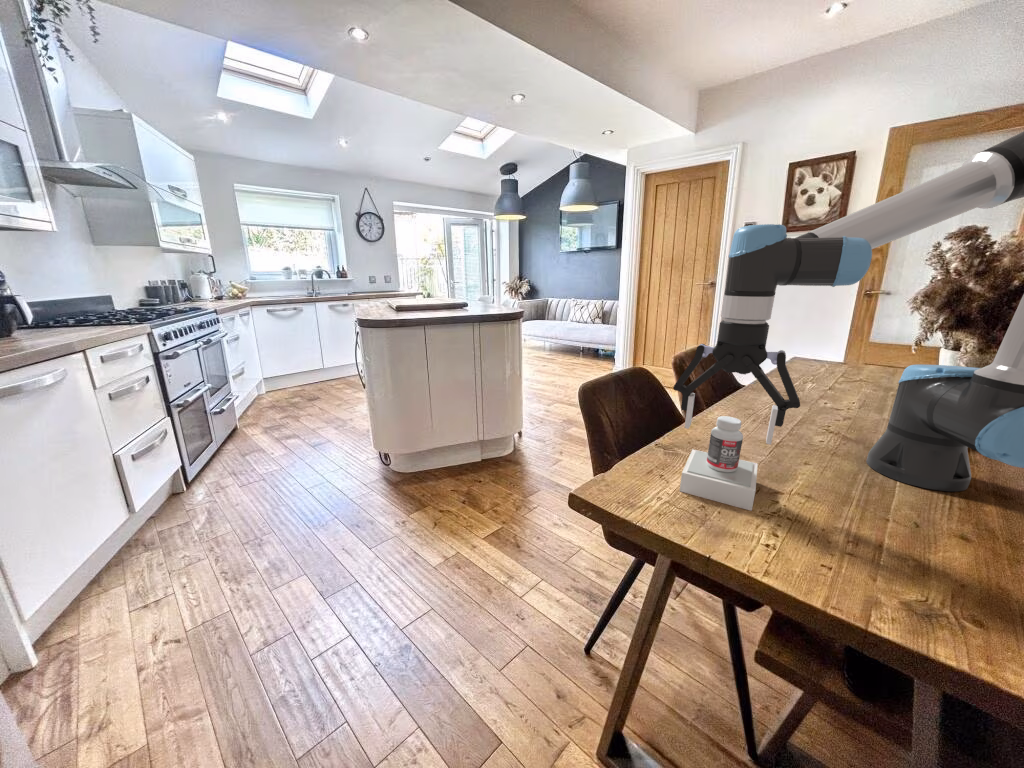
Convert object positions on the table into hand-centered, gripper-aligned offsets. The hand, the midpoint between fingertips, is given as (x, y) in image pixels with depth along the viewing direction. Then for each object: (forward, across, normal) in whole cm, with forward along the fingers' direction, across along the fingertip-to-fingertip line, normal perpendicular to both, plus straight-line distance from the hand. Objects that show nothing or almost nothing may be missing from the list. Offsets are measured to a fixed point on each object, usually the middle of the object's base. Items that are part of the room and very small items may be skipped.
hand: (726, 433), depth 74 cm
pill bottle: (+7, 0, 0) cm, 7 cm away
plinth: (+11, 0, 0) cm, 11 cm away
